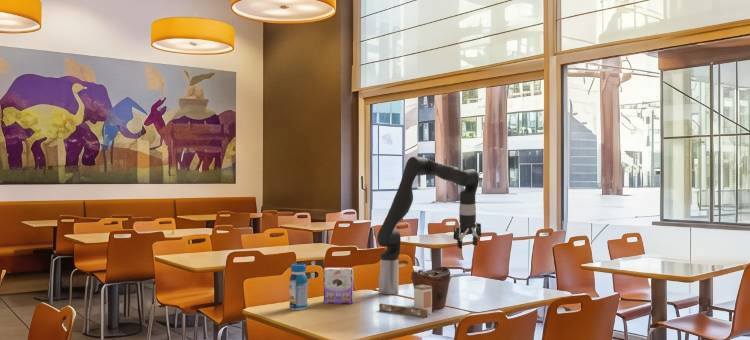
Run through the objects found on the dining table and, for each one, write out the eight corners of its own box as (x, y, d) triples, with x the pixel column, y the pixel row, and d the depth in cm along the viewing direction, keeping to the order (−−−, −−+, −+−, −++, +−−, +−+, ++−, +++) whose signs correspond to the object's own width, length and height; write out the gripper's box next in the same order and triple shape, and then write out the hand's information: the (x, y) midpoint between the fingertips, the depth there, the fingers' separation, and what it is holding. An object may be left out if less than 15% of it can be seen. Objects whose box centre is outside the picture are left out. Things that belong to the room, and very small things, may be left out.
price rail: (379, 310, 290) (379, 304, 290) (380, 310, 291) (380, 303, 291) (425, 317, 276) (425, 310, 276) (427, 316, 277) (427, 309, 277)
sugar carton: (422, 315, 280) (422, 287, 280) (414, 313, 285) (414, 285, 285) (432, 313, 284) (432, 286, 284) (423, 311, 288) (423, 284, 288)
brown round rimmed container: (403, 308, 294) (404, 268, 294) (421, 300, 312) (421, 263, 312) (439, 312, 286) (440, 272, 286) (455, 305, 304) (456, 267, 304)
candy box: (353, 301, 310) (353, 267, 310) (352, 304, 304) (352, 269, 304) (325, 301, 311) (325, 266, 311) (323, 303, 305) (323, 268, 306)
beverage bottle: (304, 310, 289) (304, 266, 289) (286, 310, 291) (286, 265, 291) (310, 307, 297) (310, 263, 298) (292, 306, 299) (292, 263, 299)
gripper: (474, 209, 303) (474, 242, 306) (450, 213, 296) (450, 247, 299) (485, 212, 297) (484, 246, 299) (460, 216, 290) (460, 251, 292)
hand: (467, 246), depth 299 cm, fingers open, 8 cm apart
